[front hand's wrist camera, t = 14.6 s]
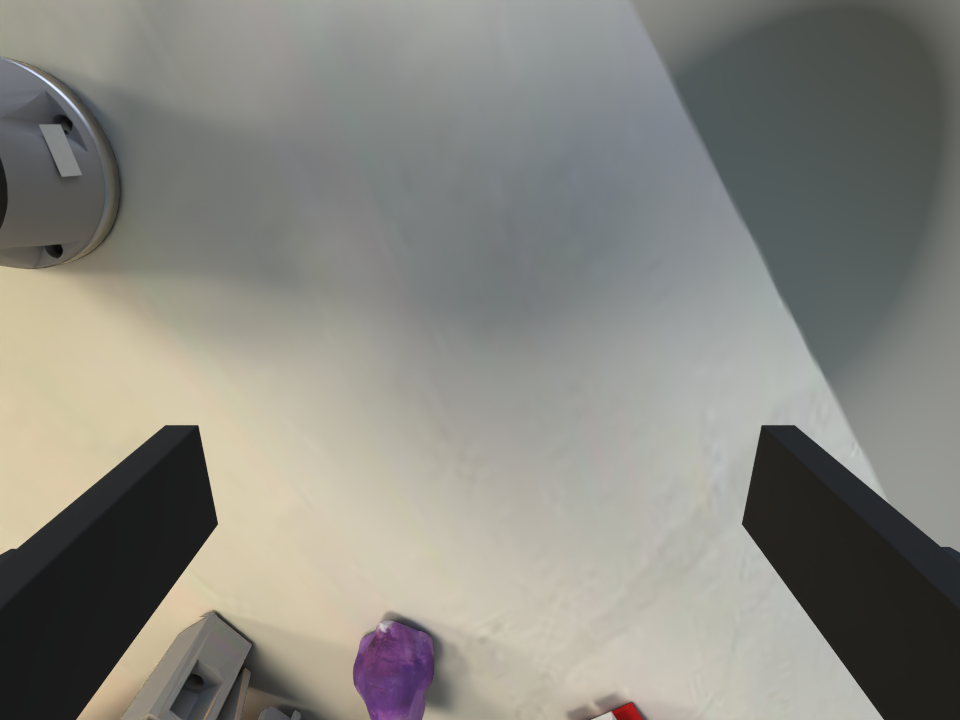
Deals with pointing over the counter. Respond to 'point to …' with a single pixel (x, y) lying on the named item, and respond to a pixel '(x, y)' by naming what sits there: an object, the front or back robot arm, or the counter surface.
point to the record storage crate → (200, 678)
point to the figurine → (394, 671)
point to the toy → (621, 714)
